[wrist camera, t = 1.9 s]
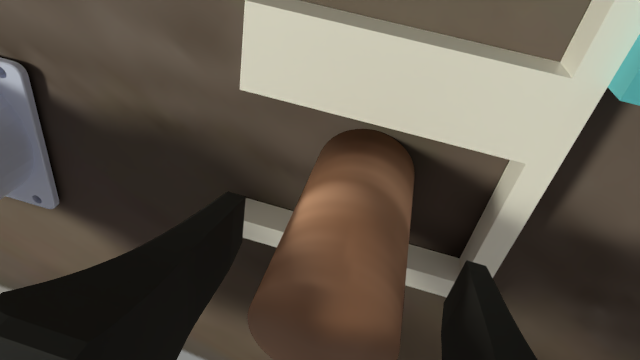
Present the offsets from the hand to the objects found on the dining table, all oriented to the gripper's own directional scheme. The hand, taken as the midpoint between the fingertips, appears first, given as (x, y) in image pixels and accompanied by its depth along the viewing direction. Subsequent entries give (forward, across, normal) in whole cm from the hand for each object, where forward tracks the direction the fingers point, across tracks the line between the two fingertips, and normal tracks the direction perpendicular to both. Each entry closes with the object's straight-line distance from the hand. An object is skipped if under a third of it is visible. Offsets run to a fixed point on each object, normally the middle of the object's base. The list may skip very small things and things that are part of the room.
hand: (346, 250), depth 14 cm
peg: (+5, 0, 0) cm, 5 cm away
